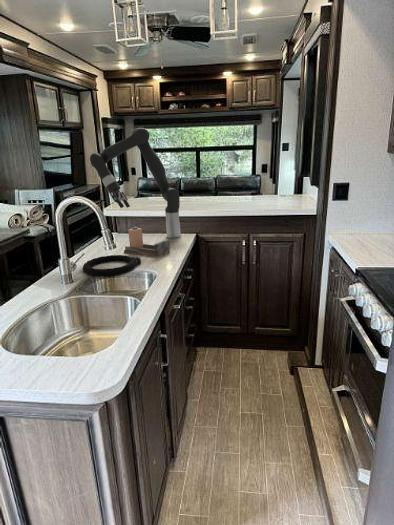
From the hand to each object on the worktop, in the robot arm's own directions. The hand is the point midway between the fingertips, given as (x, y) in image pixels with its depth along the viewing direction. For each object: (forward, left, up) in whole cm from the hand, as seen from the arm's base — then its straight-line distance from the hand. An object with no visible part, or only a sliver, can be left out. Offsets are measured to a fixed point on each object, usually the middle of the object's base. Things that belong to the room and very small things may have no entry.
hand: (125, 207), depth 211 cm
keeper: (+3, +8, -24) cm, 26 cm away
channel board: (+3, +16, -26) cm, 30 cm away
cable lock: (+33, +16, -26) cm, 45 cm away
